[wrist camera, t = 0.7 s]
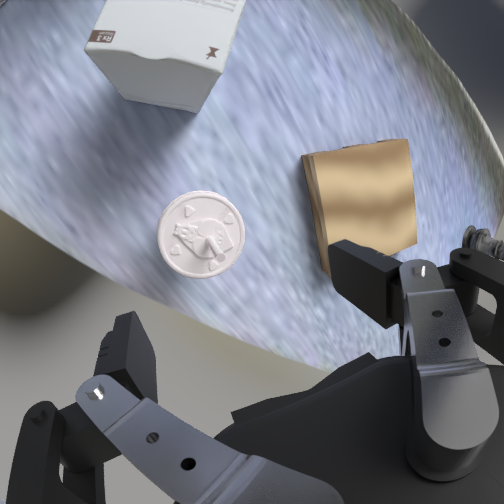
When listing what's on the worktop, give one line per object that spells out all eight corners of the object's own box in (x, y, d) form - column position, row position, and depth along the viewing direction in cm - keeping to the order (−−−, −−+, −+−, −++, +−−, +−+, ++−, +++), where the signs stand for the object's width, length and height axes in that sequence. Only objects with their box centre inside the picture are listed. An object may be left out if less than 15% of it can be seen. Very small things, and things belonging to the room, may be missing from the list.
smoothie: (209, 252, 31) (244, 315, 19) (150, 235, 29) (142, 291, 16) (229, 194, 30) (281, 219, 17) (170, 174, 28) (175, 182, 15)
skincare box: (214, 65, 26) (258, -5, 12) (197, 118, 27) (229, 76, 13) (136, 49, 23) (122, -32, 9) (117, 102, 24) (79, 49, 11)
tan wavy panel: (299, 155, 31) (312, 155, 28) (391, 138, 34) (407, 138, 31) (320, 270, 36) (333, 279, 33) (402, 237, 39) (416, 243, 36)
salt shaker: (458, 240, 43) (511, 261, 32) (472, 217, 43) (523, 233, 32) (465, 260, 46) (514, 281, 35) (479, 237, 46) (526, 255, 35)
